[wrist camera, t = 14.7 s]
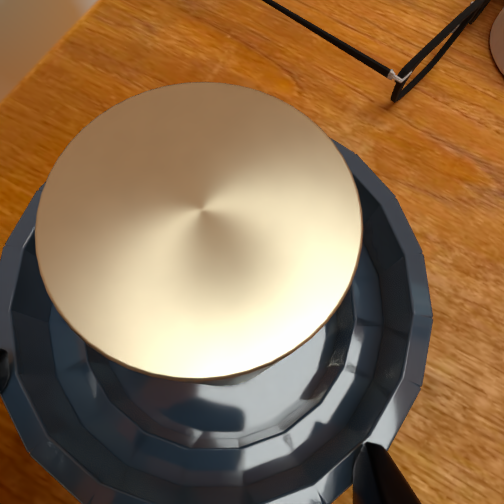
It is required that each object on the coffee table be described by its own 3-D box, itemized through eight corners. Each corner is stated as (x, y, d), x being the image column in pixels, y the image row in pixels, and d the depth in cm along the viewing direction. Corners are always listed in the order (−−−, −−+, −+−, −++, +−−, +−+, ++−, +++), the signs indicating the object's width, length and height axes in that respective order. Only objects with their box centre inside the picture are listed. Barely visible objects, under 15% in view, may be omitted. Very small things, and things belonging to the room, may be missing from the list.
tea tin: (297, 383, 14) (386, 376, 6) (145, 388, 14) (5, 388, 6) (288, 242, 16) (344, 80, 8) (153, 244, 16) (58, 80, 7)
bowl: (177, 558, 14) (135, 680, 8) (27, 284, 17) (-81, 231, 11) (423, 352, 16) (522, 332, 11) (255, 149, 19) (262, 51, 14)
